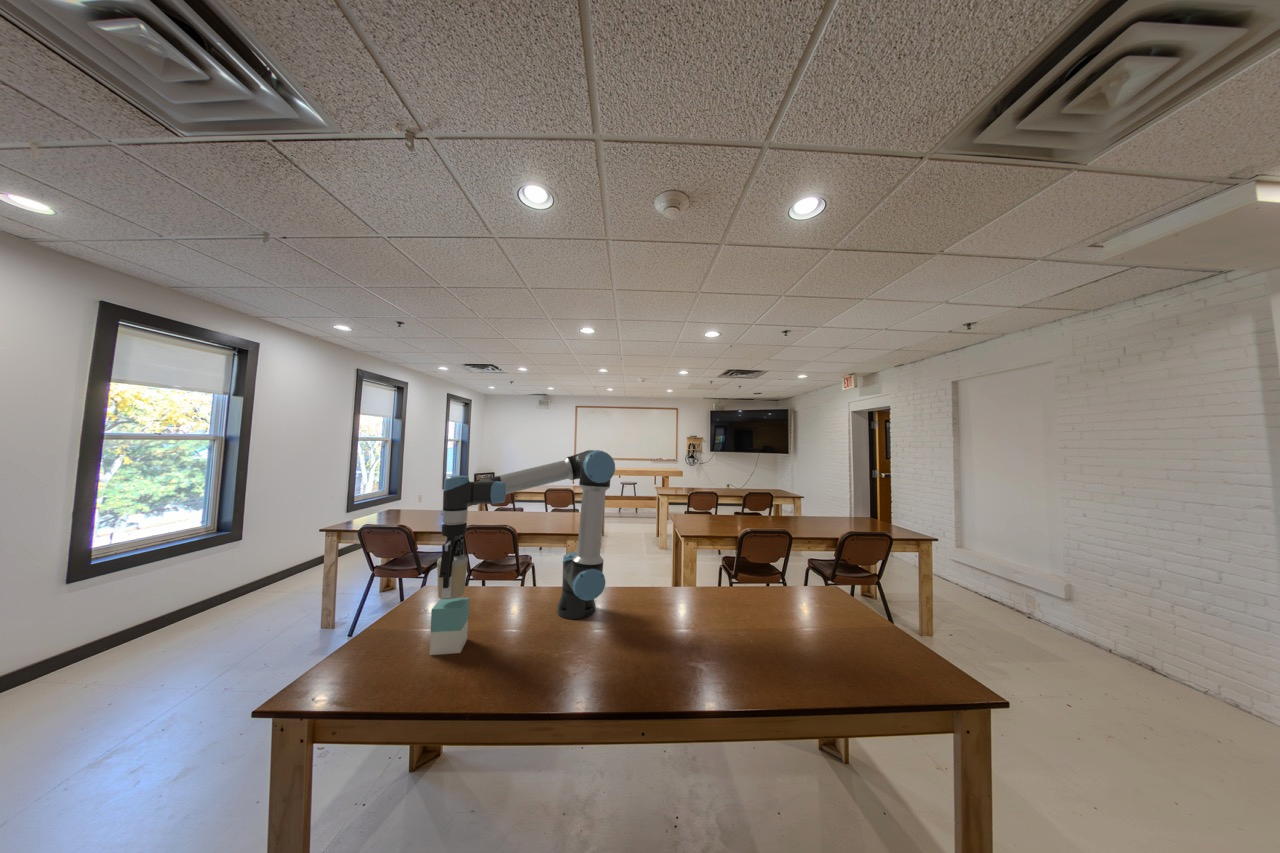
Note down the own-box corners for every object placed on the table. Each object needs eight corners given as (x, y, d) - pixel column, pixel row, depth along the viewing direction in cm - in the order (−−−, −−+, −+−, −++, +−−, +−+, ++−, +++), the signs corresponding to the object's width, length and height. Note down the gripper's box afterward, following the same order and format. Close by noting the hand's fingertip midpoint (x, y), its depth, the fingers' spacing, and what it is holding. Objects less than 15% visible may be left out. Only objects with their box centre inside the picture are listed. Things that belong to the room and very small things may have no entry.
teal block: (468, 618, 134) (469, 597, 135) (460, 630, 126) (461, 608, 126) (440, 619, 133) (441, 598, 134) (430, 632, 124) (431, 609, 125)
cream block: (467, 639, 134) (467, 618, 135) (460, 652, 125) (461, 630, 126) (438, 641, 132) (439, 620, 133) (429, 655, 124) (430, 632, 124)
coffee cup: (472, 590, 134) (473, 554, 135) (456, 601, 125) (458, 562, 125) (446, 589, 135) (447, 553, 136) (428, 599, 126) (430, 561, 126)
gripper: (454, 517, 141) (451, 581, 140) (429, 529, 120) (425, 605, 119) (475, 517, 142) (473, 581, 141) (455, 529, 121) (451, 604, 120)
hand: (451, 592), depth 130 cm, fingers closed on coffee cup, 8 cm apart
